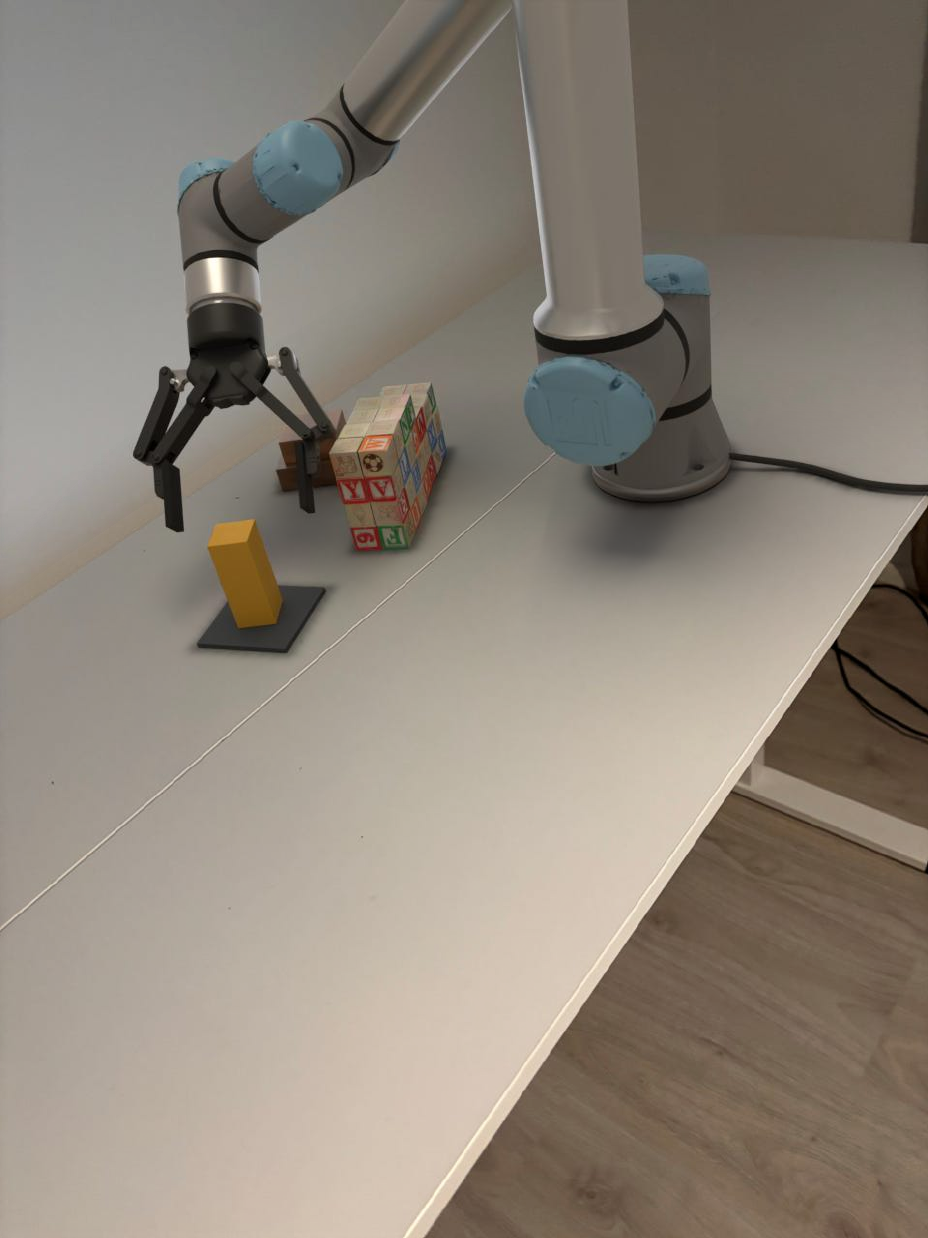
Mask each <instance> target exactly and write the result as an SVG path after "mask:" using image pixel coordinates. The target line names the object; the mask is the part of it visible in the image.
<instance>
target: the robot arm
mask: <svg viewBox="0 0 928 1238" xmlns="http://www.w3.org/2000/svg"><path fill="white" fill-rule="evenodd" d="M511 10H512V16H513V25H514V32H515V33H514V34H515V40H516V50H517V58H518V66H519V75H520V83H521V92H522V99H523V106H524V107H523V108H524V116H525V124H526V133H527V141H528V148H529V150H528V151H529V157H530V165H531V174H532V175H531V176H532V182H533V190H534V200H535V207H536V208H535V209H536V215H537V216H536V217H537V226H538V232H539V240H540V246H541V247H540V249H541V257H542V264H543V273H544V282H545V291H546V297H545V299H543V301H542V303H541V304H540V305H539V306H538V307H537V308H536V310H535V312H534V313H533V319H532V321H533V322H532V324H533V331H534V338H535V347H536V354H537V361H538V362H537V365H538V366H537V367H536V368H535V369H534V370H533V371H532V373H531V374H530V376H529V377H528V380H527V384H526V386H525V390H524V394H523V409H524V414H525V417H526V420H527V422H528V424H529V426H530V428H531V430H532V431H533V433H534V435H535V436H536V437H537V439H539V441H540V442H541V443H542V444H543V445H544V446H547V447H550V448H551V449H552V450H553V451H554V453H555V454H556V455H558V456H559V457H561V458H563V459H564V460H568V461H570V462H572V463H575V464H578V465H581V466H588V467H591V475H592V478H593V481H594V483H595V484H596V485H597V486H598V487H599V488H600V489H602V490H603V491H604V492H605V493H608V494H609V495H612V496H615V497H618V498H621V499H625V500H630V501H636V502H649V503H651V502H652V503H653V502H654V503H655V502H668V501H675V500H680V499H684V498H688V497H691V496H695V495H698V494H700V493H702V492H704V491H707V490H709V489H710V488H712V487H714V486H715V485H717V484H718V483H719V482H721V481H722V480H723V479H724V478H725V477H726V475H727V474H728V472H729V471H730V469H731V464H732V461H736V462H743V463H744V462H745V463H751V464H752V463H753V464H760V465H769V466H776V467H782V468H790V469H794V470H795V469H796V470H801V471H804V472H809V473H813V474H817V475H821V476H822V477H823V476H824V477H826V478H829V479H833V480H836V481H839V482H842V483H846V484H850V485H853V486H857V487H862V488H867V489H868V488H869V489H875V490H883V491H891V492H906V493H928V484H916V483H915V484H914V483H913V484H911V483H895V482H886V481H885V482H884V481H877V480H871V479H865V478H860V477H857V476H852V475H848V474H846V473H841V472H839V471H835V470H832V469H829V468H825V467H822V466H818V465H815V464H810V463H806V462H801V461H797V460H790V459H783V458H776V457H767V456H760V455H752V454H746V453H736V452H732V449H731V444H730V440H729V437H728V434H727V432H726V430H725V427H724V424H723V421H722V420H721V417H720V414H719V412H718V410H717V407H716V405H715V404H716V403H715V402H714V398H713V389H712V387H713V385H712V383H713V382H712V343H711V342H712V341H711V298H710V296H712V290H711V289H710V283H709V282H710V281H709V273H708V269H707V267H706V265H705V263H703V262H702V261H701V260H699V259H697V258H694V257H691V256H688V255H683V254H682V255H681V254H667V253H666V254H665V253H661V254H659V253H657V254H644V247H643V232H642V231H643V230H642V218H641V217H642V214H641V200H640V199H641V198H640V182H639V168H638V150H637V149H638V148H637V135H636V119H635V118H636V117H635V104H634V87H633V86H634V85H633V71H632V69H633V68H632V55H631V53H632V52H631V38H630V21H629V3H628V0H404V2H403V3H402V4H401V5H400V7H399V8H398V10H397V11H396V12H395V14H393V16H392V17H391V19H390V20H389V21H388V23H387V24H386V25H385V27H384V28H383V29H382V31H381V32H380V34H378V36H377V38H376V39H375V40H374V41H373V43H372V44H371V46H370V47H369V48H368V50H367V51H366V52H365V54H364V55H363V57H362V58H361V59H360V60H359V62H358V63H357V64H356V66H355V67H354V68H353V70H352V71H351V72H350V73H349V75H348V76H347V78H346V79H345V81H344V83H343V84H342V86H341V87H340V88H339V89H338V90H337V92H336V93H335V94H334V96H333V97H332V98H331V100H330V101H329V102H328V103H327V104H326V106H325V107H324V108H323V109H322V110H321V111H320V112H317V113H316V114H314V115H312V116H310V117H308V118H307V119H304V120H300V119H295V120H292V121H289V122H287V123H285V124H284V125H282V126H281V127H278V128H277V129H276V130H274V131H271V132H269V133H267V134H266V135H265V136H264V137H263V138H262V139H261V141H260V142H259V143H258V144H256V145H255V146H253V148H251V149H250V150H249V151H248V152H246V153H245V154H244V155H242V157H240V158H239V159H238V160H236V161H233V160H231V159H226V158H223V157H206V158H205V157H204V159H203V160H202V161H192V162H190V163H189V164H187V165H186V166H185V167H184V168H183V169H182V170H181V172H180V174H179V176H178V180H177V193H178V194H177V197H178V198H177V201H178V202H177V204H176V207H177V208H176V213H177V214H176V215H177V217H178V225H179V228H178V229H179V239H180V250H181V259H182V261H181V262H182V270H183V287H184V304H185V305H184V306H185V313H186V315H187V318H186V330H187V345H188V354H189V363H188V366H187V369H186V368H185V369H172V368H170V367H169V366H167V365H164V366H161V367H160V368H159V371H158V385H157V387H158V388H157V391H156V393H155V396H154V398H153V401H152V404H151V406H150V409H149V410H148V413H147V416H146V419H145V421H144V424H143V426H142V428H141V431H140V433H139V436H138V439H137V441H136V444H135V446H134V449H133V451H132V457H133V458H134V459H135V460H137V461H139V462H140V463H141V464H143V465H145V466H146V467H152V472H153V485H154V487H153V488H154V494H155V495H156V497H157V498H159V499H160V500H163V509H164V525H165V528H168V529H169V530H171V531H173V532H174V533H184V532H185V525H184V524H185V523H184V511H183V496H182V482H181V481H182V480H181V469H180V468H179V467H177V466H176V465H174V463H175V462H176V461H177V459H178V457H179V456H180V454H181V453H182V451H183V450H184V449H185V447H186V445H187V444H188V443H189V441H190V440H191V438H192V437H193V436H194V434H195V432H196V431H197V429H198V428H199V427H200V425H201V424H202V422H203V421H204V419H205V418H207V417H208V416H210V415H211V413H212V412H213V410H214V409H215V408H219V409H220V410H224V409H229V408H231V407H233V406H242V407H243V406H250V404H251V403H252V402H254V400H255V399H256V398H257V399H258V400H259V401H260V402H261V403H262V404H264V406H266V407H267V408H268V409H269V410H270V411H271V412H272V413H273V414H274V415H276V416H277V417H278V418H279V420H281V421H282V422H283V423H284V424H287V425H288V426H289V427H290V428H291V429H292V430H293V431H294V432H295V433H296V434H297V435H298V436H300V437H301V438H302V439H303V442H302V441H301V442H295V443H294V446H295V458H296V469H297V480H298V489H297V490H298V492H297V493H298V501H299V502H298V503H299V508H300V509H301V510H302V511H303V512H305V513H306V514H308V515H311V514H315V513H316V505H315V495H314V487H313V481H312V478H315V477H320V475H321V462H320V450H319V447H320V444H321V443H322V442H323V441H324V440H326V439H328V438H329V439H332V438H334V437H335V436H336V434H337V431H336V429H335V427H334V426H333V424H332V423H331V421H330V419H329V418H328V416H327V415H326V413H325V412H324V411H325V410H324V409H323V407H322V406H321V404H320V403H319V401H318V399H317V398H316V396H315V395H314V393H313V392H312V390H311V388H310V386H308V384H307V383H306V381H305V379H304V378H303V376H302V374H301V370H300V369H301V368H300V365H299V364H300V363H299V359H298V357H297V356H296V355H295V354H294V352H292V349H290V348H289V347H288V346H282V347H280V349H279V350H278V353H275V354H271V355H267V353H266V342H265V331H264V320H263V317H262V315H261V313H262V311H263V310H262V297H261V283H260V268H259V264H258V263H259V262H258V248H259V247H260V246H261V245H263V244H264V243H267V242H268V241H270V240H271V239H273V238H274V237H275V236H276V235H278V234H279V233H281V232H283V231H284V230H286V229H288V228H289V227H291V226H292V225H295V223H297V222H298V221H300V220H302V219H303V218H305V217H306V216H308V215H310V214H313V213H315V212H316V211H317V210H318V209H321V208H322V207H323V206H324V205H326V204H327V203H329V202H330V201H331V200H333V199H334V198H337V197H338V196H339V195H341V194H342V193H344V192H345V191H347V190H349V189H350V188H352V187H353V186H356V185H357V184H358V183H360V182H362V181H364V180H365V179H367V178H369V177H372V176H374V175H376V174H377V173H379V172H380V171H381V170H382V169H384V167H386V165H387V164H388V163H390V162H391V161H392V160H393V159H394V157H395V156H396V154H397V152H398V150H399V146H400V141H401V139H402V138H403V136H404V135H405V134H406V133H407V131H408V130H409V129H410V128H411V127H412V126H413V124H414V123H415V122H416V121H417V120H418V119H419V118H420V116H421V115H422V114H423V113H424V111H426V109H427V108H428V107H429V106H430V104H431V103H432V102H433V101H434V100H435V99H436V98H437V97H438V95H439V94H440V93H441V92H442V91H443V90H444V88H445V87H446V86H447V85H448V84H449V82H450V81H451V80H452V79H453V78H454V77H455V75H457V73H458V72H459V71H460V69H461V68H462V67H463V66H464V65H465V64H466V63H467V61H468V60H469V59H470V58H471V57H472V56H473V54H475V52H477V50H478V48H479V47H480V46H481V45H482V44H483V43H484V42H485V41H486V39H487V38H488V37H489V36H490V35H491V33H492V32H493V31H494V30H495V29H496V27H498V26H499V24H500V23H501V22H502V20H503V19H504V18H505V17H506V16H507V15H508V13H510V12H511ZM272 370H275V371H276V372H277V373H278V374H279V375H280V376H282V377H285V378H286V380H287V381H288V383H289V384H290V386H291V388H292V389H293V391H294V392H295V394H296V395H297V397H298V398H299V400H300V402H301V403H302V404H303V406H304V408H305V409H306V411H307V412H308V413H309V414H310V415H311V417H312V418H313V420H314V421H315V423H316V426H314V427H312V428H309V427H308V426H307V425H305V424H304V423H303V422H302V421H301V420H300V419H299V418H298V417H297V416H296V415H297V414H294V412H293V411H291V409H289V408H288V407H287V406H286V404H284V403H283V402H282V401H281V400H279V398H277V397H276V395H274V394H273V393H272V392H271V391H270V390H269V389H268V388H267V387H265V385H264V384H265V382H266V381H267V379H268V378H269V376H270V374H271V372H272ZM189 383H190V384H191V385H192V386H193V388H192V389H191V391H190V392H189V394H187V397H186V400H185V404H184V406H183V407H182V408H181V410H180V412H179V413H178V414H177V416H176V418H175V419H174V420H173V422H172V423H171V421H172V419H173V416H174V413H175V412H176V408H177V405H178V403H179V400H180V394H181V393H183V392H185V387H186V385H187V384H189ZM170 424H171V425H170Z"/></svg>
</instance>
